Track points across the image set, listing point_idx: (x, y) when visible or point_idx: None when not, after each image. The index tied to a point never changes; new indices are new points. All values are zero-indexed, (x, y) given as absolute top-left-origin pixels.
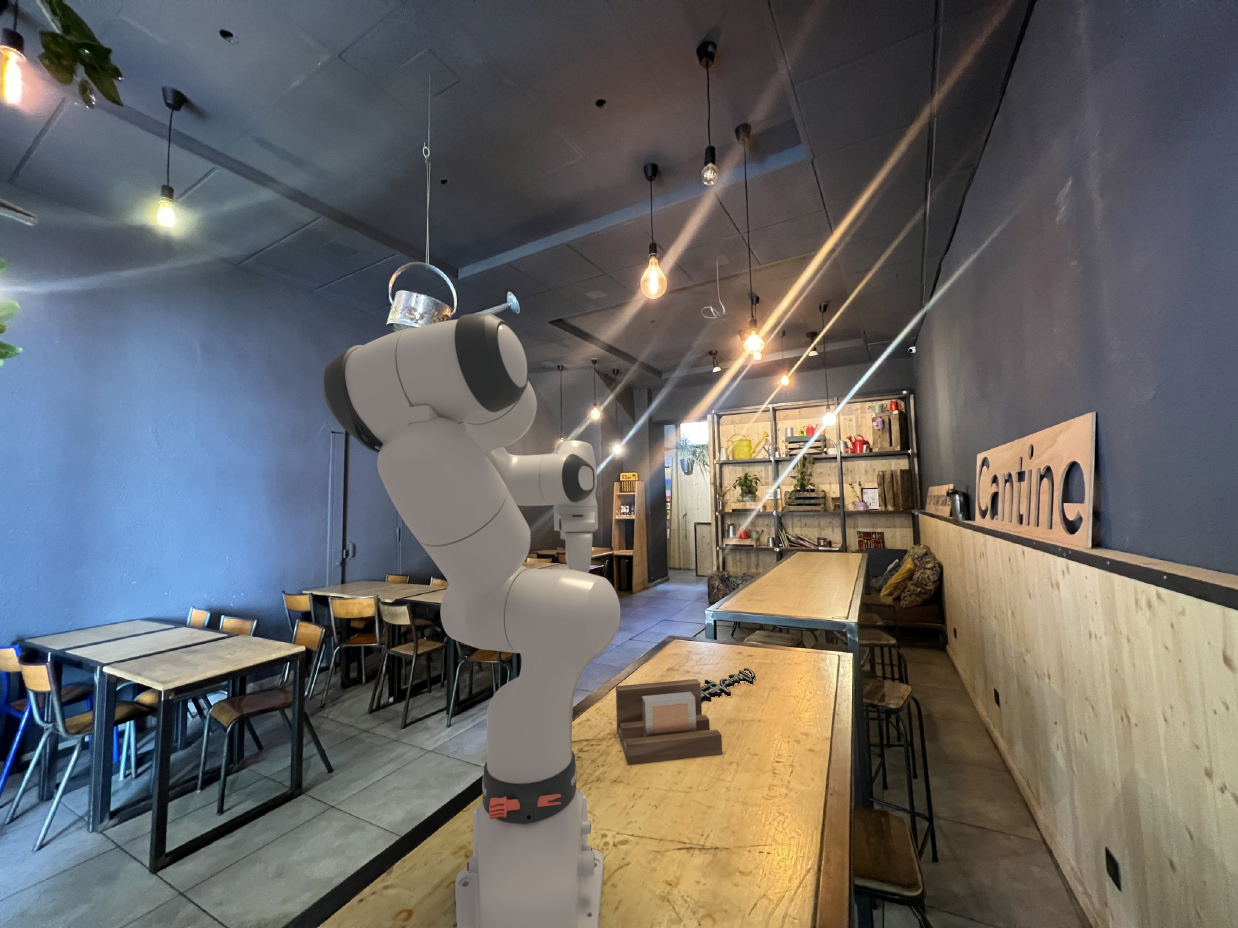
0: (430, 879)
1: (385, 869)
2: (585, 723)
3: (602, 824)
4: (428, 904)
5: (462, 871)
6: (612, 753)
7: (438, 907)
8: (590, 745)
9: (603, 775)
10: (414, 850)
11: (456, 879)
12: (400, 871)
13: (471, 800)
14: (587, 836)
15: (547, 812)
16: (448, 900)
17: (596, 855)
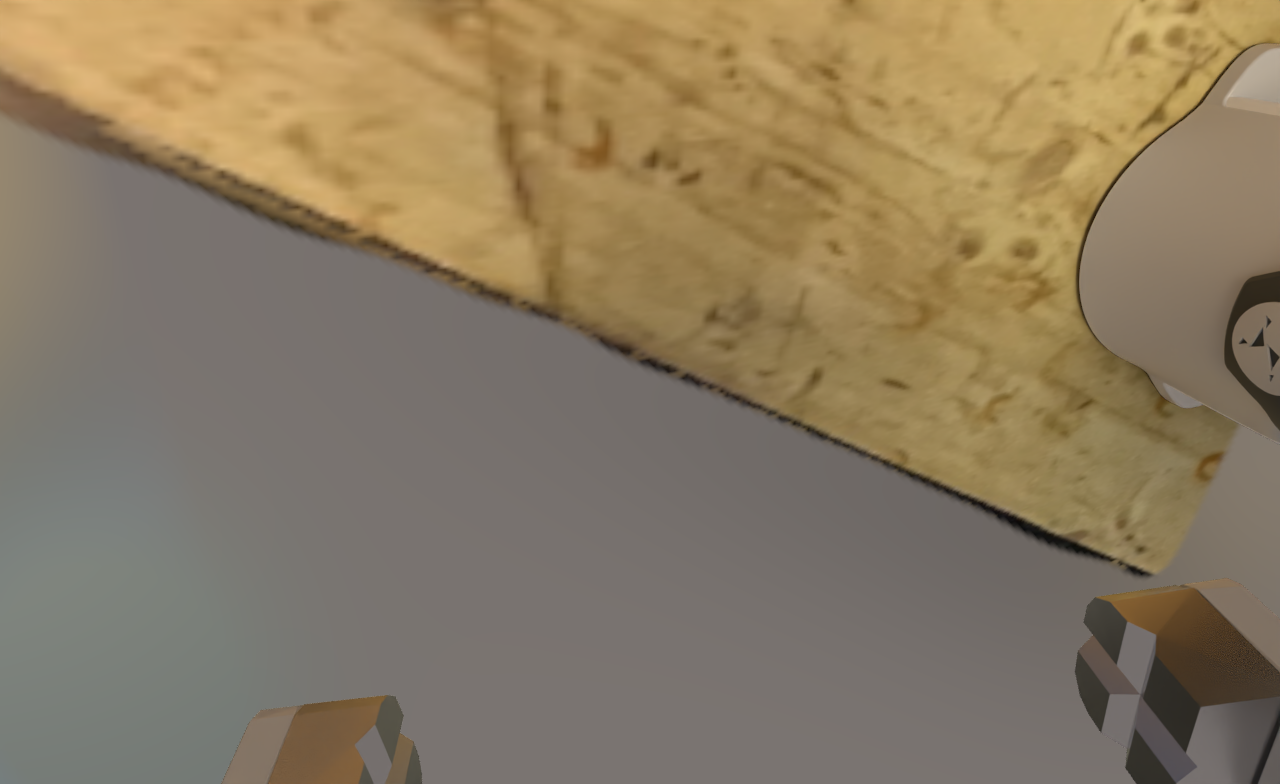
0: (1133, 453)
1: (1069, 544)
2: (340, 149)
3: (1086, 50)
4: (1203, 434)
5: (1179, 400)
6: (636, 7)
7: None
8: (559, 114)
9: (803, 49)
10: (1027, 515)
11: (1199, 405)
12: (1086, 516)
13: (861, 455)
14: (1274, 102)
15: None
16: None
17: (1270, 68)
